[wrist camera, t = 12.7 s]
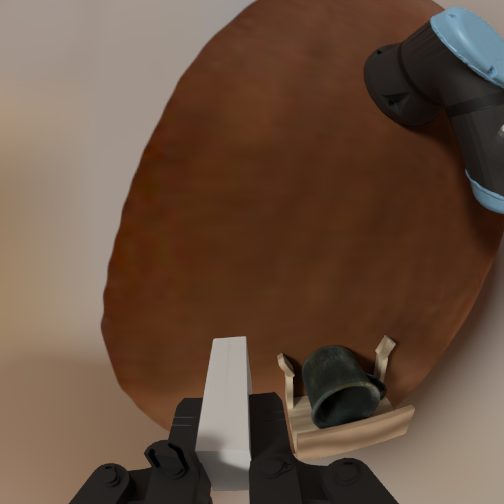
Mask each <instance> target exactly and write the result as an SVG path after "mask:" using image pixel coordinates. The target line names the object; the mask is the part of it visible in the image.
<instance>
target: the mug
mask: <svg viewBox="0 0 504 504" xmlns="http://www.w3.org/2000/svg"><path fill="white" fill-rule="evenodd" d="M301 375H302V379H303V382H304V385H305V389H306V392H307V395H308V399H309V402H310V405H311V409H312V412H311V419H312V421H313V423H314V424H315V425H316V426H317V427H318V428H320V429H325V428H330V427H335V426H339V425H344V424H348V423H352V422H356V421H360V420H364V419H367V418H368V417H369V416H371V415H372V414H373V412H374V411H375V410H376V408H377V406H378V404H379V401H380V400H382V399H383V398H384V396H385V394H386V392H387V389H386V387H385V385H384V384H383V383H382V382H381V381H380V380H379V379H378V378H377V377H375V376H373V375H371V374H368V373H364V371H363V369H362V368H361V366H360V365H359V363H358V361H357V360H356V358H355V357H354V355H353V353H352V352H351V351H350V350H348V349H346V348H344V347H340V346H329V347H325V348H322V349H319V350H318V351H316V352H314V353H313V354H312V355H311V356H309V357H308V359H307V360H306V361H305V363H304V364H303V367H302V371H301Z"/></svg>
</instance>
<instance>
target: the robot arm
mask: <svg viewBox="0 0 504 504" xmlns="http://www.w3.org/2000/svg"><path fill="white" fill-rule="evenodd" d="M364 79H365V84H366V87H367V90H368V92H369V94H370V96H371V98H372V99H373V101H374V102H375V104H376V105H377V106H378V107H379V108H380V110H381V111H382V112H383V113H384V114H386V115H387V116H388V117H389V118H391V119H392V120H394V121H396V122H398V123H400V124H403V125H406V126H419V125H423V124H426V123H428V122H430V121H432V120H433V119H434V118H435V117H436V116H437V115H438V114H439V113H440V112H441V110H442V109H443V108H445V110H446V112H447V115H448V117H449V120H450V123H451V125H452V128H453V131H454V133H455V136H456V139H457V142H458V145H459V148H460V151H461V154H462V157H463V161H464V164H465V167H466V169H465V171H466V175H467V177H468V178H469V180H470V183H471V187H472V190H473V194H474V196H475V198H476V199H477V200H478V201H479V202H480V204H481V205H482V206H484V207H485V208H487V209H489V210H491V211H494V212H497V213H501V214H504V41H503V39H502V38H501V37H500V36H499V34H498V33H497V32H496V31H495V30H494V29H493V28H492V27H491V26H490V25H489V24H488V23H487V22H486V21H484V20H483V19H482V18H481V17H479V16H478V15H476V14H475V13H473V12H471V11H469V10H467V9H464V8H460V7H451V8H448V9H446V10H445V11H443V12H442V13H440V14H437V15H434V16H433V17H432V18H431V19H430V20H429V21H428V22H427V23H425V24H424V25H423V26H422V27H420V28H419V29H418V30H416V31H415V32H414V33H413V34H412V35H410V36H409V37H408V38H407V39H406V40H404V41H403V42H401V43H395V44H390V45H386V46H382V47H380V48H378V49H377V50H375V51H374V52H373V53H372V54H371V55H370V56H369V57H368V59H367V61H366V63H365V66H364ZM144 455H145V456H146V458H147V459H148V461H149V463H150V464H151V466H152V467H150V468H146V469H141V470H132V471H127V470H126V469H125V468H124V467H122V466H121V465H118V464H114V463H109V464H104V465H101V466H99V467H98V468H97V469H96V470H95V471H94V472H93V473H92V475H91V476H90V477H89V478H88V480H87V481H86V482H85V484H84V485H83V486H82V488H81V489H80V490H79V491H78V493H77V494H76V495H75V497H74V498H73V499H72V500H71V502H70V503H69V504H213V503H212V498H211V496H210V489H211V487H212V489H213V490H214V491H237V490H249V495H250V504H399V503H398V502H397V501H396V500H395V499H394V497H393V496H392V495H391V494H390V493H389V492H388V490H387V489H386V488H385V487H384V486H383V484H382V483H381V482H380V481H379V480H378V479H377V477H376V476H375V475H374V474H373V472H372V471H371V470H370V469H369V467H368V466H367V465H366V464H364V463H363V462H362V461H360V460H357V459H354V458H343V459H339V460H336V461H334V462H333V463H331V464H329V465H328V466H318V465H310V464H305V463H303V462H301V461H299V460H298V459H296V458H295V456H294V455H293V454H292V451H291V447H290V442H289V436H288V431H287V425H286V420H285V414H284V409H283V403H282V400H281V399H280V397H279V396H278V395H277V394H276V393H275V392H272V393H262V394H252V384H251V374H250V366H249V359H248V351H247V342H246V336H244V337H232V338H218V339H214V340H213V345H212V351H211V357H210V362H209V368H208V374H207V380H206V386H205V392H204V398H184V399H183V400H182V401H181V402H180V403H179V405H178V406H177V408H176V412H175V415H174V419H173V423H172V427H171V431H170V435H169V438H168V440H160V441H158V442H155V443H153V444H152V445H150V446H149V447H148V448H147V449H146V451H145V452H144Z"/></svg>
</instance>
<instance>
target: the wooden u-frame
mask: <svg viewBox="0 0 504 504" xmlns="http://www.w3.org/2000/svg"><path fill="white" fill-rule="evenodd" d="M394 346H395V343H394V342H393V340H392V339H391V338H390V337H389V336H386V335H385V336H384V337H383V339H382V341H381V342H380V344H379V346H378V347H377V349H376V352H377V355H376V361H375V368H374V374H373V376H375V377H377V378H378V379H379V380H380V381H381V382H382V383H383V381H384V377H385V372H386V366H387V361H388V355H389V354H390V352H391V351H392V349H393V347H394ZM277 357H278V362H279V366H280V367H281V368H282V370H283V371H284V372H285V390H286V406H287V411H288V416H289V421H290V427H291V432H292V437H293V442H294V447H295V452H296V457H297V459H298V460H299V461H303V460H309V459H315V458H320V457H325V456H330V455H334V454H338V453H342V452H347V451H351V450H355V449H358V448H362V447H366V446H369V445H373V444H376V443H379V442H382V441H385V440H388V439H391V438H394V437H397V436H399V435H402V434H405V433H406V431H407V428H408V426H409V423H410V421H411V418H412V416H413V413H414V410H415V408H414V407H413V405H409V406H406V407H403V408H400V409H397V410H394V408H393V407H392V405H391V403H390V402H389V400H388V399H387V397H386V396H384V398H383V399H382V400H380V401H379V404H378V406H377V408H376V410H375V411H374V412H373V414H372V415H371V416H369V417H368V418H367V419H364V420H360V421H356V422H352V423H348V424H344V425H339V426H335V427H330V428H325V429H320V428H318V427H317V426H316V425H315V424H314V423H313V421H312V419H311V412H312V409H311V405H310V402H309V399H308V396H301V397H295V398H293V377H294V376H295V374H294V371H293V367H292V365H291V364H290V362H289V361H288V360H287V359H286V357H285V356H284V355H283V353H281V354H279V355H278V356H277Z"/></svg>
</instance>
